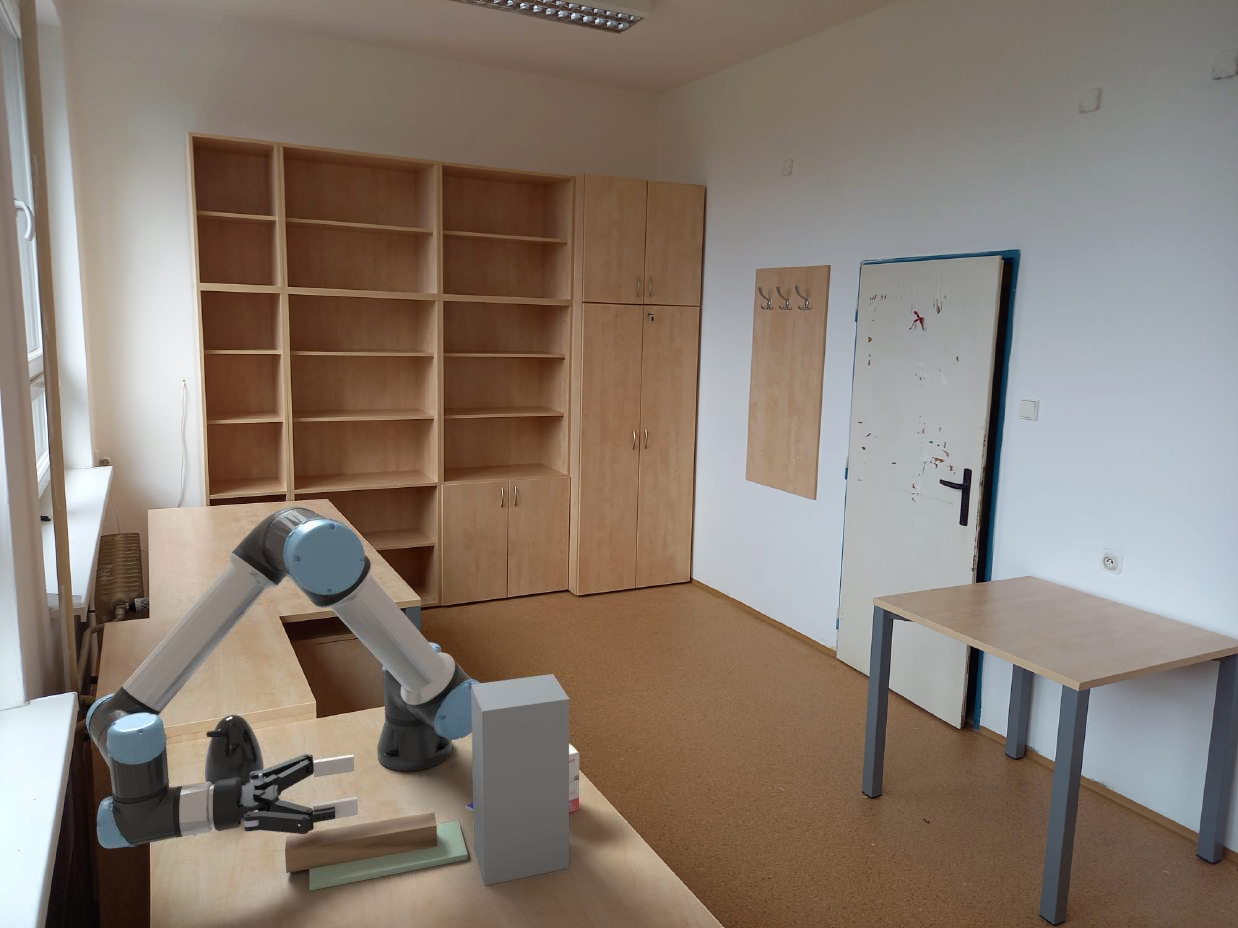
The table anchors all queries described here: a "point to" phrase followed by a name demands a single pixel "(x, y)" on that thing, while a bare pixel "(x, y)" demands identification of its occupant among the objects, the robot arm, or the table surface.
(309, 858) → the walnut bar
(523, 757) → the stand
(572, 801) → the ink box
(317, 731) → the table surface
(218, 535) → the table surface
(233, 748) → the pump dispenser
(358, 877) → the mat
